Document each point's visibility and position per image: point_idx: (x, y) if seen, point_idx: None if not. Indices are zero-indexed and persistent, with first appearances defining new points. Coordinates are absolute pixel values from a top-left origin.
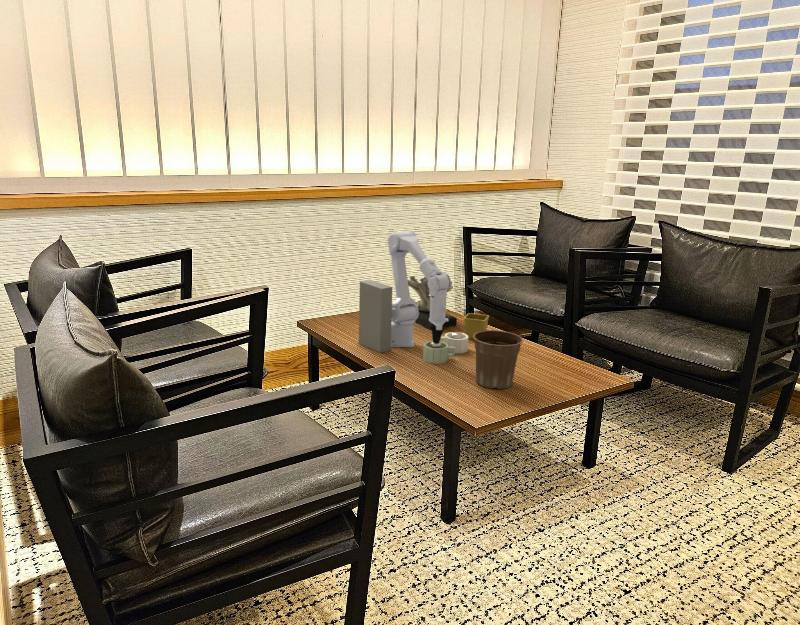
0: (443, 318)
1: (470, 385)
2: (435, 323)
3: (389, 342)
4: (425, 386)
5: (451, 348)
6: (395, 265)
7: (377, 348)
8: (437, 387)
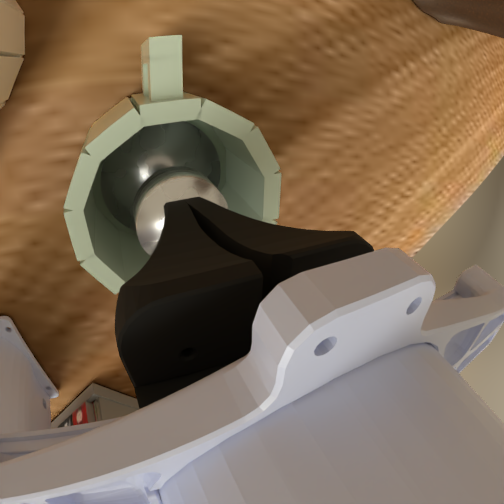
0: (464, 381)
1: (447, 51)
2: (461, 370)
3: (108, 418)
4: (431, 201)
5: (180, 66)
6: None
7: None
8: (443, 165)
